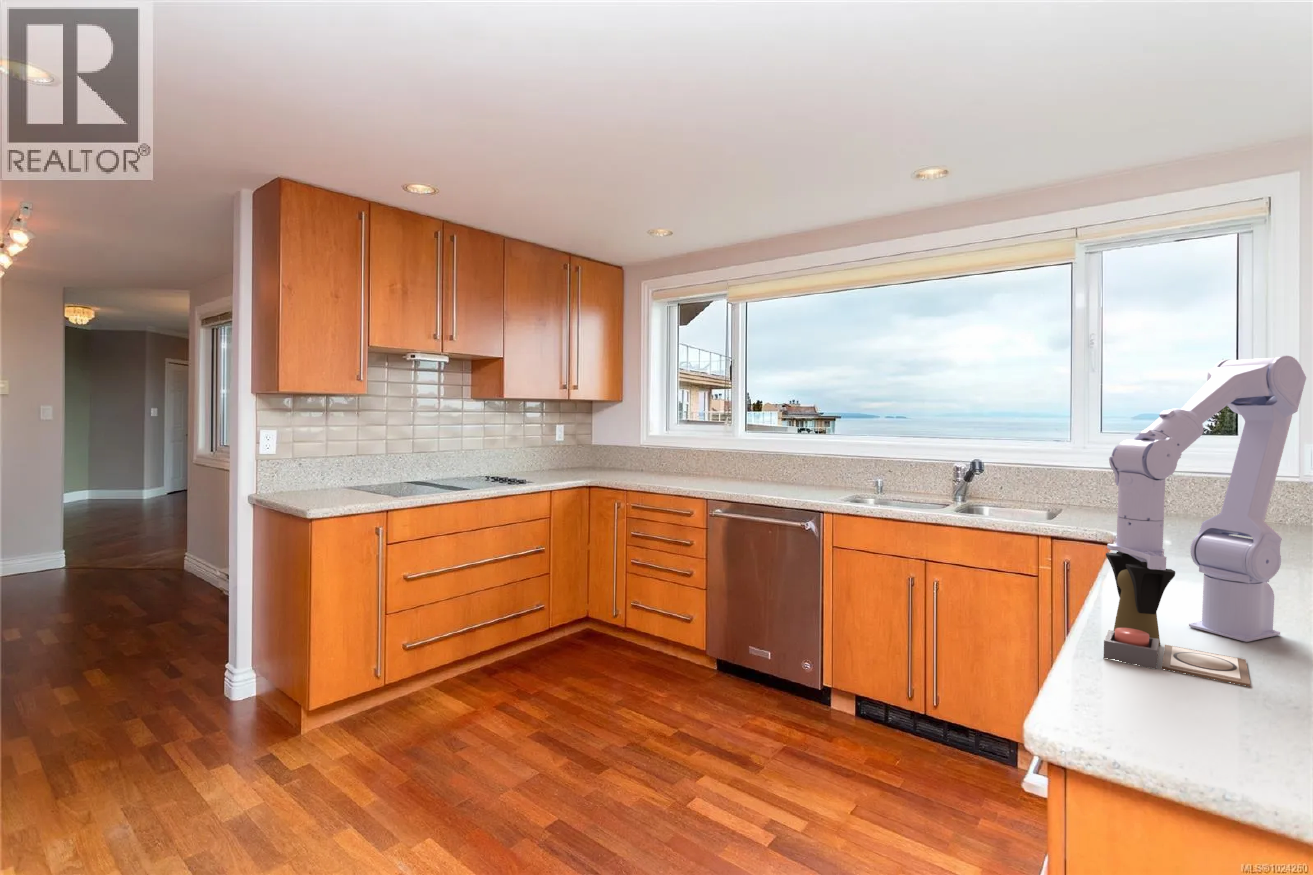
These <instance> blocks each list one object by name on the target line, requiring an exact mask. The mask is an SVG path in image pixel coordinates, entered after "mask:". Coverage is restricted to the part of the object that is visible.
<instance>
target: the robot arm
mask: <svg viewBox="0 0 1313 875" xmlns="http://www.w3.org/2000/svg"><path fill="white" fill-rule="evenodd" d="M1306 380H1307V376H1306V374H1305V372H1304V370H1303V368H1302V366H1301V364H1300V362H1299V361H1298V359H1296V358H1295V357H1294V356H1291V355H1281V356H1277V357H1264V358H1262V357H1261V358H1260V357H1259V358H1246V359H1223V360H1221V361H1219V362H1217V363H1216V364H1215V365H1214V367H1212V368H1210V369H1209V370H1208V372H1207V377H1206V382H1205V383H1204V384H1203V385H1202V386H1201V387H1200V389H1199V390H1198V391H1197V392H1196V393H1195V394H1194V395H1193V396H1192V397H1191V398H1190V399H1189V400H1188V401H1187V402H1186V403H1185V404H1184V405H1183V406H1182V407H1181V408H1171V409H1170V408H1169V409H1166V410H1165V409H1164V410H1162V411H1161V412H1160V413H1159V414H1158V416H1159V417H1157V419H1156V420H1154V421H1153V422H1152V423H1151V424H1149V425H1148V426H1147V427H1146V428H1145V429H1142V430H1141V431H1140V432H1138V433H1139V434H1138V435H1137V436H1135V437H1134V439H1125V440H1123V441H1121V442H1120V443H1118V444H1117V445H1115V447H1114V448H1113V450H1112V453H1111V456H1109V457H1108V460H1109V466H1110V468H1111V470H1112V472H1113V474H1114V483H1115V485H1116V486H1117V487H1118V492H1117V517H1116V537H1115V539H1114V542H1115V543H1107V545H1106V548H1107V550H1110V551H1116V552H1106V553H1105V557H1106V560H1108V562H1109V565H1110V567H1111V570H1112V571H1113V575H1114V579H1115V584H1116V590H1117V594H1118V597H1119V598H1120V595H1121V589H1120V587H1119V586H1118V582H1117V577H1118V575H1119V573H1120V572H1121V571H1122V570H1125V569H1127V570H1128V572H1129V574H1130V576H1131V579H1132V583H1133V587H1134V594H1135V603H1136V608H1137V611H1138V612H1139V613H1144V614H1156V613H1157V611H1158V609H1159V607H1160V603H1161V599H1162V597H1163V594H1164V593H1165V590H1166V588H1167V587H1168V585H1169V584H1170V583H1171V581H1172V580H1173V579H1174V578H1175V575H1176V571H1175V570H1173V569H1172V568H1167V556H1165V549H1164V547H1163V546H1164V525H1165V524H1164V517H1165V495H1166V493H1165V492H1166V479H1167V478H1169V476H1172V475H1173V474H1174V473H1175V471H1176V469H1177V466H1178V461H1179V460H1180V459H1181V456H1182V455H1183V454H1182V453H1183V452H1184V451H1185V450H1186V449H1189V447H1190V446H1191V445H1192V444H1193V443H1195V442H1196V441H1197V440H1199V438H1200V437H1201V436H1202V435H1203V433H1204V423H1205V422H1207V421H1208V420H1210V419H1211V418H1212V417H1214V416H1215V415H1216V414H1217V413H1219V412H1220V411H1222V410H1223V409H1225V407H1228V408H1229V409H1230V410H1231V411H1232V412H1233V413H1235V414H1238V415H1240V416H1241V417H1242V418H1243V420H1244V425H1243V429H1242V432H1241V436H1240V440H1239V443H1238V447H1237V452H1236V455H1235V458H1234V462H1233V466H1232V470H1231V473H1230V477H1229V481H1228V485H1227V488H1226V492H1225V494H1224V495H1225V496H1224V500H1223V503H1222V508H1221V511H1220V513H1218V514H1216V515H1213V516H1212V517H1210V518H1208V519H1205V520H1204V521H1202V522H1201V526H1200V529H1199V530H1198V532H1197V534H1196V536H1195V537H1194V538H1193V540H1192V542H1191V543H1190V548H1189V549H1190V550H1189V551H1190V557H1191V559H1192V562H1193V563H1194V564H1195V565H1196V566H1197V567H1198V572H1199V573H1202V574H1203V583H1202V584H1203V586H1202V587H1203V588H1202V610H1201V612H1202V613H1201V621H1196V622H1190V623H1188V627H1190V628H1193V629H1197V630H1201V631H1203V632H1204V631H1205V632H1208V633H1210V634H1211V633H1212V634H1214V635H1220V636H1223V637H1226V638H1230V639H1234V640H1237V641H1241V642H1245V643H1246V642H1247V643H1248V642H1253V641H1257V640H1261V639H1266V638H1270V637H1275V636H1279V635H1280V636H1281V631H1279V630H1275V629H1274V613H1275V593H1274V590H1273V588H1272V586H1271V585H1270V584H1269V582H1270V580H1271V579H1272V578H1274V576H1276V574H1277V573H1279V570H1280V567H1281V563H1282V556H1281V544H1282V537H1281V535H1280V534H1278V533H1277V532H1276V531H1275V530H1274V529H1273V528H1272V527H1271V526H1270V525H1268V523H1266V522H1265V520H1266V518H1267V517H1266V516H1267V512H1268V509H1269V505H1270V502H1271V498H1272V493H1273V490H1274V486H1275V482H1276V478H1277V475H1278V472H1279V467H1280V464H1281V460H1282V456H1283V453H1284V450H1285V449H1284V448H1285V446H1286V445H1285V444H1286V441H1287V437H1288V433H1289V430H1290V427H1291V426H1290V425H1291V424H1292V423H1291V422H1292V418H1293V415H1294V414H1296V413H1297V412H1298V411H1299V406H1300V404H1301V399H1302V395H1303V393H1304V392H1303V391H1304V387H1305V383H1306Z"/></svg>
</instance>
